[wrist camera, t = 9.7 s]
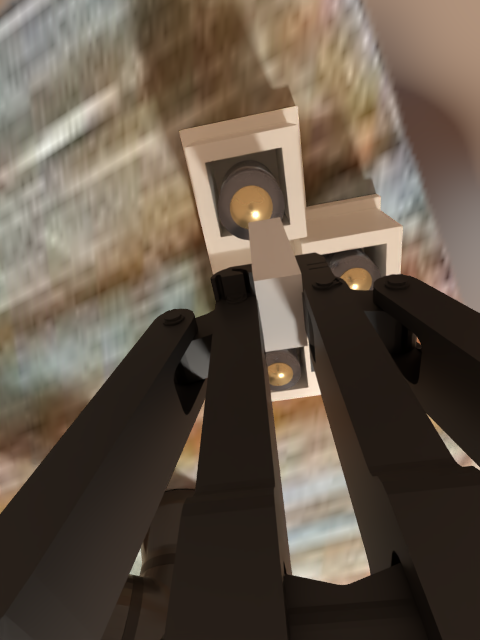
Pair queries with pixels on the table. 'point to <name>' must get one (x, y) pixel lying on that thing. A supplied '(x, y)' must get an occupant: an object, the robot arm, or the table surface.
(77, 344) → the table surface
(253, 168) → the knob
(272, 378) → the knob
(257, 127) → the knob panel
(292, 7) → the table surface
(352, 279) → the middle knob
